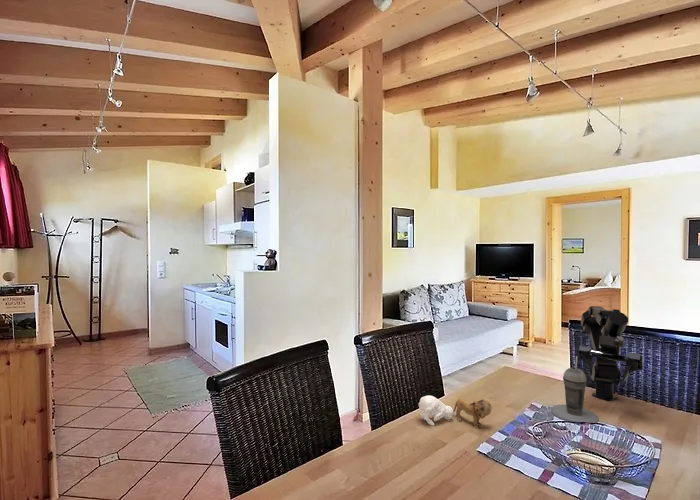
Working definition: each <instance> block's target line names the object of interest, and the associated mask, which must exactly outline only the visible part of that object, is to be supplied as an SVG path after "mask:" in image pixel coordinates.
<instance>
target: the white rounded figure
mask: <svg viewBox="0 0 700 500" xmlns="http://www.w3.org/2000/svg"><path fill="white" fill-rule="evenodd" d="M418 407H419V409H418V410H419V414H420V417H421V418H422V419H423V421H426V422H427V424H428V425H430V426H432V427H434V426H435V423H434V422H437V421H440V419H442V418H444V420H445V421H446V420H447V421H448V422H449V421H450V420H451V419H452V417H453V415H454V413H453V410H454V408H452V407H451V406H450V405H446V404H444V403H443V402H442V401H441V400H440V399H438V398H437V397H435V396H433V395H425V396H422V397H421V398H420V399H419V402H418ZM430 416H433V420H432V419H430Z"/></svg>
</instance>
